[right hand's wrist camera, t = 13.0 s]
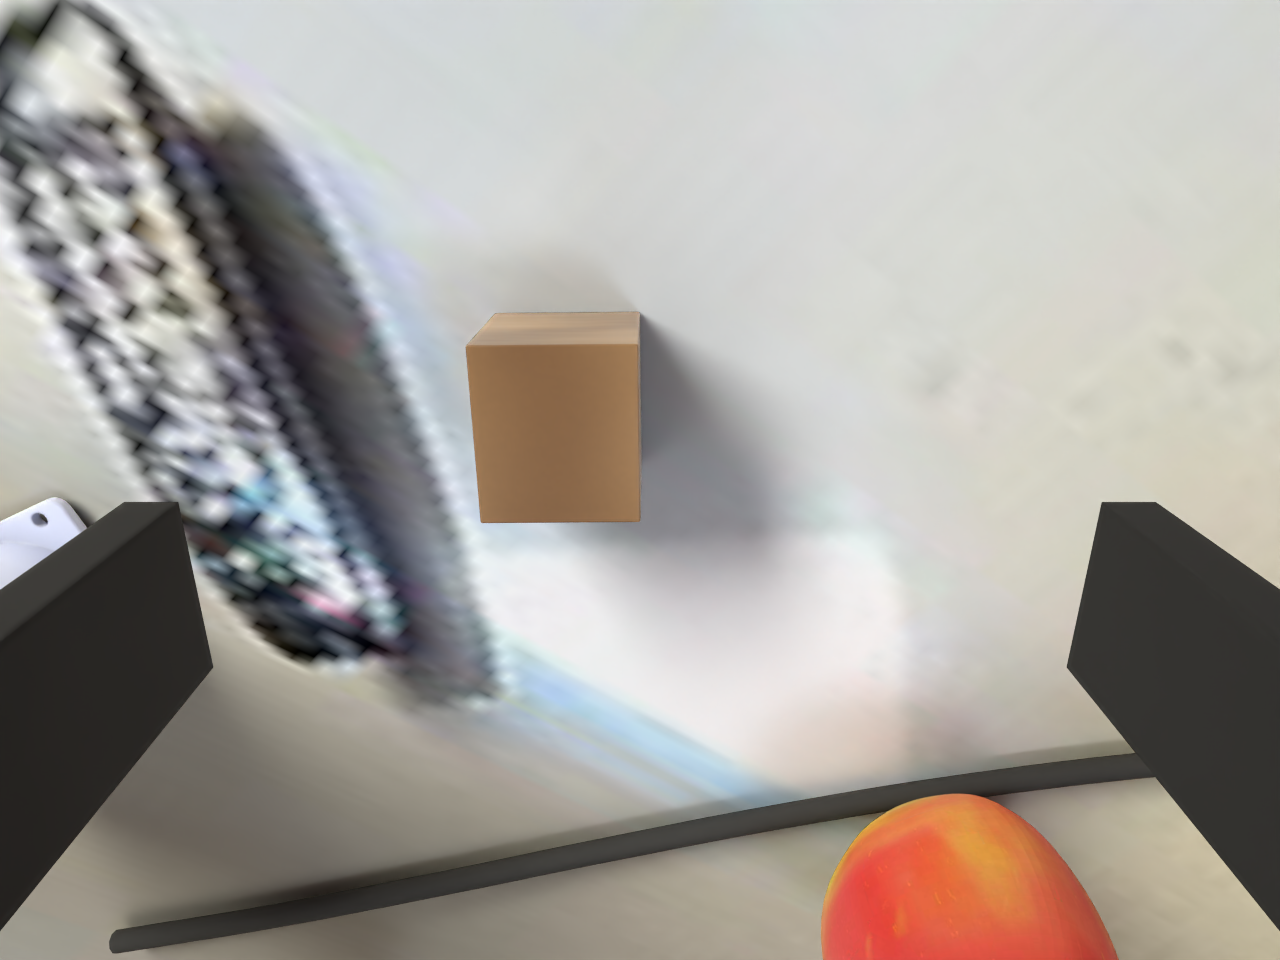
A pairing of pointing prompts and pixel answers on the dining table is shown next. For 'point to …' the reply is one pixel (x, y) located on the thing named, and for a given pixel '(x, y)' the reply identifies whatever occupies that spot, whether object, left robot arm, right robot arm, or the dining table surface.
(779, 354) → the dining table surface
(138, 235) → the dining table surface
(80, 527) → the left robot arm
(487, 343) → the cardboard box
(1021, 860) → the apple
